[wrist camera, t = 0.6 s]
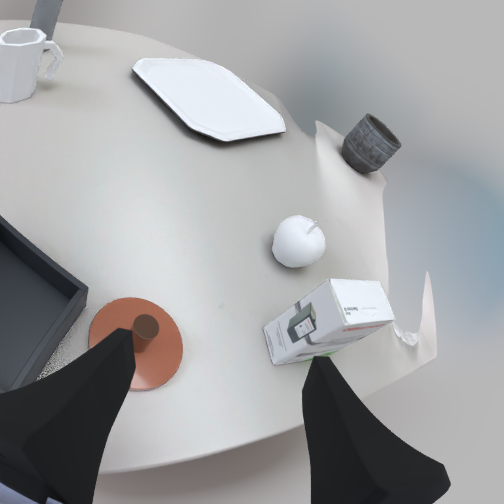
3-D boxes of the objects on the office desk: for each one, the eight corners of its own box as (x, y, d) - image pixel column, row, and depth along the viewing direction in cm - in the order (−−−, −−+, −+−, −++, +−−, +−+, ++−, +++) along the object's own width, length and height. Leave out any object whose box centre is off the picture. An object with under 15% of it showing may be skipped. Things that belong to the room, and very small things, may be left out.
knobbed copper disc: (157, 408, 25) (172, 401, 22) (70, 354, 24) (70, 337, 20) (194, 332, 32) (213, 314, 28) (119, 284, 30) (128, 258, 27)
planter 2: (329, 141, 80) (358, 107, 72) (355, 151, 88) (383, 121, 79) (351, 174, 75) (385, 139, 66) (376, 182, 82) (408, 151, 74)
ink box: (315, 322, 41) (381, 278, 33) (326, 357, 38) (398, 319, 30) (261, 326, 36) (329, 275, 28) (272, 367, 34) (347, 326, 26)
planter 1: (54, 48, 46) (70, -6, 37) (33, 54, 42) (48, -3, 33) (41, 41, 45) (55, -11, 37) (20, 47, 41) (34, -8, 33)
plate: (201, 154, 49) (207, 144, 47) (119, 67, 52) (122, 57, 51) (291, 136, 70) (296, 129, 68) (214, 67, 73) (218, 60, 72)
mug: (-12, 106, 31) (-6, 48, 24) (-7, 80, 34) (0, 29, 27) (57, 99, 39) (70, 45, 32) (54, 75, 42) (67, 26, 35)
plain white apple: (255, 234, 45) (288, 196, 39) (293, 235, 49) (326, 202, 43) (273, 278, 42) (311, 244, 36) (311, 276, 46) (349, 245, 40)
